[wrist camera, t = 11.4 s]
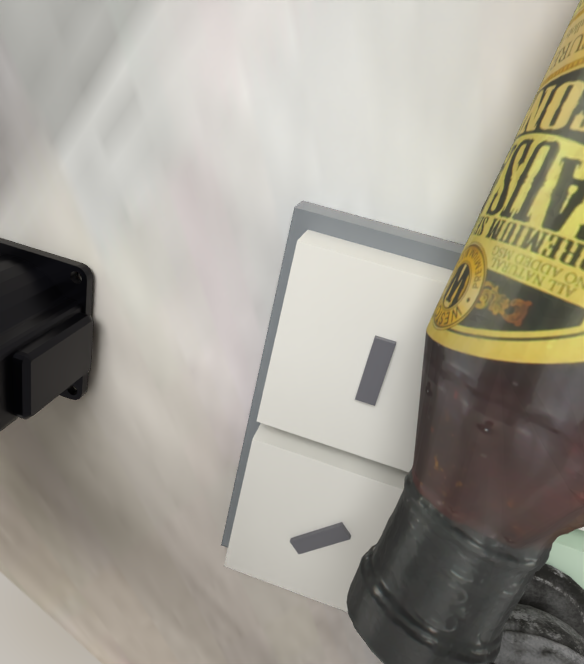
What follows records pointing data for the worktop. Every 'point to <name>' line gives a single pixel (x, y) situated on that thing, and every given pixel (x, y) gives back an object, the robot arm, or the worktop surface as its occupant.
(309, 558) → the keypad board
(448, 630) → the sauce bottle
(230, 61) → the worktop surface
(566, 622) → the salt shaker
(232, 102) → the worktop surface
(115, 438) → the worktop surface
